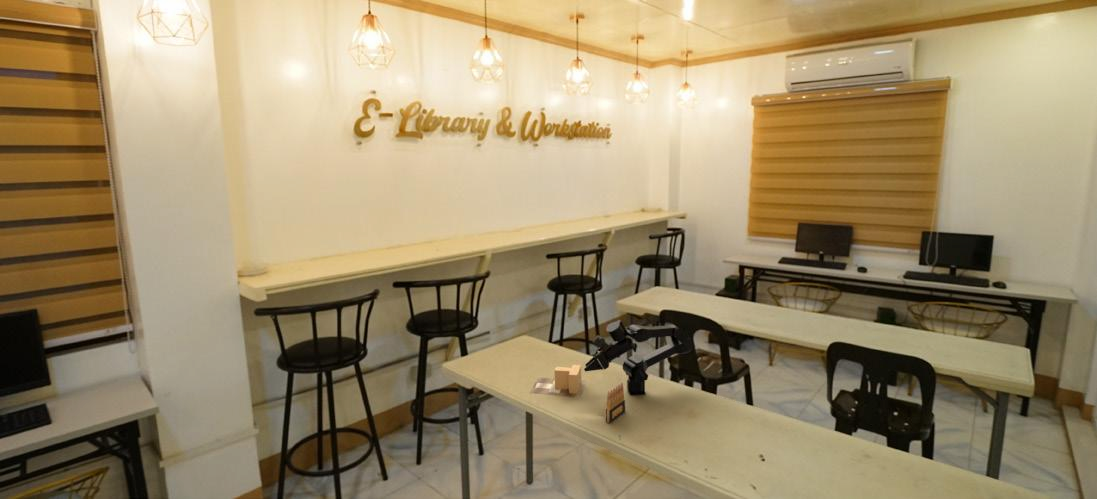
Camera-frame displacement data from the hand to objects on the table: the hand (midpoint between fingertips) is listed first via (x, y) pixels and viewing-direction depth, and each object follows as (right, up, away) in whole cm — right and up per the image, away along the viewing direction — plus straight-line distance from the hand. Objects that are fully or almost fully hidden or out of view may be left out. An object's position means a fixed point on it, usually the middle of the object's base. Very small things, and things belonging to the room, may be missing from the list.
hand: (585, 368), depth 209 cm
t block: (-7, -10, +7) cm, 14 cm away
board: (-11, -11, +8) cm, 17 cm away
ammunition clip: (+10, -15, -15) cm, 24 cm away
